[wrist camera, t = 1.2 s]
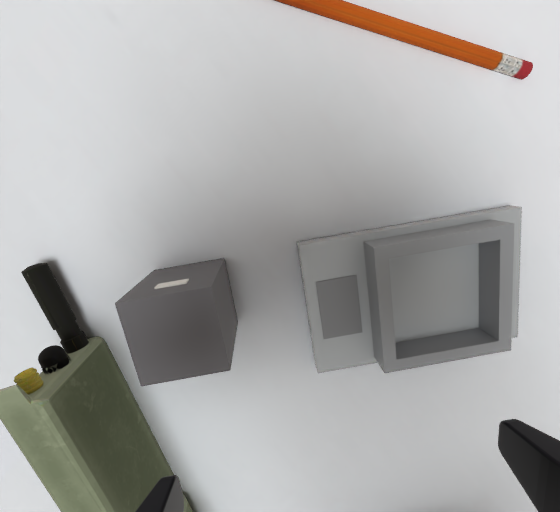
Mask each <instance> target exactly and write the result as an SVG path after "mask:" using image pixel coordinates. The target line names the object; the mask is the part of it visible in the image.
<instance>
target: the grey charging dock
mask: <svg viewBox="0 0 560 512" xmlns="http://www.w3.org/2000/svg"><path fill="white" fill-rule="evenodd" d="M521 214H522V207H517V206H505V207H499V208H493V209H487V210H481V211H475V212H470V213H464V214H458V215H452V216H446V217H440V218H434V219H429V220H423V221H417V222H411V223H405V224H399V225H394V226H388V227H382V228H376V229H370V230H364V231H358V232H353V233H347V234H341V235H335V236H329V237H323V238H318V239H312V240H306V241H300V242H297V246H298V252H299V259H300V266H301V272H302V279H303V286H304V292H305V299H306V306H307V312H308V319H309V326H310V332H311V339H312V346H313V352H314V359H315V365H316V368H317V372H318V373H322V372H328V371H333V370H339V369H344V368H350V367H355V366H361V365H366V364H372V363H377V362H378V364H379V365H380V367H381V368H382V370H383V371H384V373H389V372H394V371H400V370H405V369H411V368H416V367H422V366H427V365H432V364H438V363H443V362H449V361H454V360H460V359H465V358H471V357H476V356H482V355H487V354H493V353H498V352H504V351H509V350H511V338H515V337H517V335H518V305H519V275H520V245H521Z"/></svg>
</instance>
